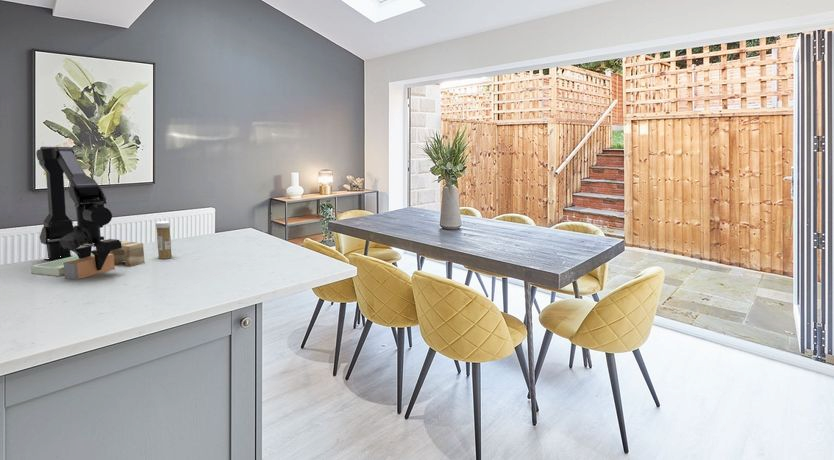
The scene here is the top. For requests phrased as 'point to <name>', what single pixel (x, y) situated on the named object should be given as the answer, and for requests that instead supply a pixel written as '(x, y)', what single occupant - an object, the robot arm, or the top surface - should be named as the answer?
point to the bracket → (129, 253)
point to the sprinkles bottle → (163, 239)
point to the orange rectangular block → (86, 267)
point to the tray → (53, 267)
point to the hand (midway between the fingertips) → (93, 269)
